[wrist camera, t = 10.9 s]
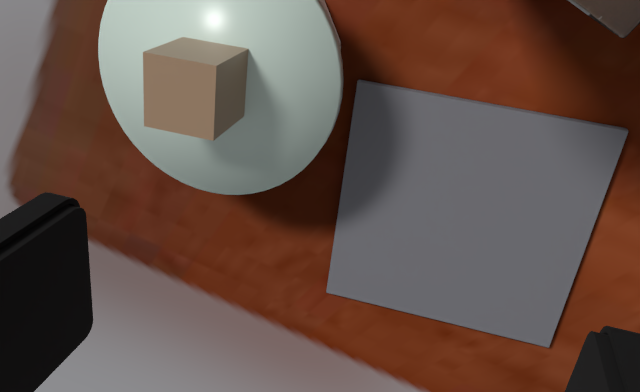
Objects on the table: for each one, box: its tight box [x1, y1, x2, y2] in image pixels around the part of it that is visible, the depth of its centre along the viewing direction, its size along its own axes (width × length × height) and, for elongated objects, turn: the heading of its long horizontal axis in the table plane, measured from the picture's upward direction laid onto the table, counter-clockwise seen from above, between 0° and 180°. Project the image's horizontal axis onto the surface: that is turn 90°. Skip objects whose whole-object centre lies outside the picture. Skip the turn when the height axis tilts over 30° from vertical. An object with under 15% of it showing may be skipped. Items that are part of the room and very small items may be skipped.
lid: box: [98, 0, 344, 195], centre depth 33 cm, size 15×15×6 cm
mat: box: [326, 80, 629, 348], centre depth 42 cm, size 17×17×1 cm
